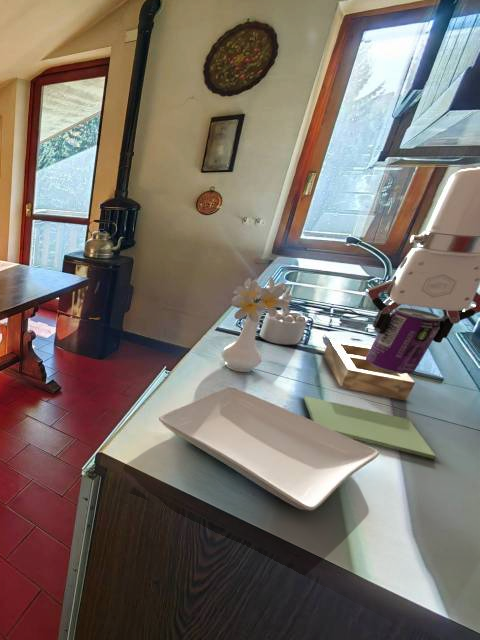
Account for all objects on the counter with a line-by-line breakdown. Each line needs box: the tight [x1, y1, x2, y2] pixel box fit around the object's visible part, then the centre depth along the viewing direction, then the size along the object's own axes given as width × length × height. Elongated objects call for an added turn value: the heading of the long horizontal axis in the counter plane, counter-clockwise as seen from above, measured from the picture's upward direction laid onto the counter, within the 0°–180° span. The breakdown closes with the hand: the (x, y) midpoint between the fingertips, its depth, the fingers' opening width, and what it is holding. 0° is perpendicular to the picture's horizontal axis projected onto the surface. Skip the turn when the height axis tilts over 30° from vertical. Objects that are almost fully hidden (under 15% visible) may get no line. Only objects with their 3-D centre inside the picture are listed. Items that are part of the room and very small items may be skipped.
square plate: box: [158, 385, 380, 512], centre depth 76 cm, size 27×27×4 cm
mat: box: [303, 395, 437, 460], centre depth 84 cm, size 18×14×1 cm
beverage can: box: [365, 306, 443, 374], centre depth 76 cm, size 7×7×12 cm
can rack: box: [323, 339, 416, 401], centre depth 104 cm, size 12×22×5 cm, turn 149°
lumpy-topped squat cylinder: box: [259, 309, 309, 345], centre depth 127 cm, size 10×13×9 cm
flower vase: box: [220, 276, 294, 373], centre depth 103 cm, size 13×18×25 cm
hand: (406, 335), depth 76 cm, fingers closed on beverage can, 7 cm apart
